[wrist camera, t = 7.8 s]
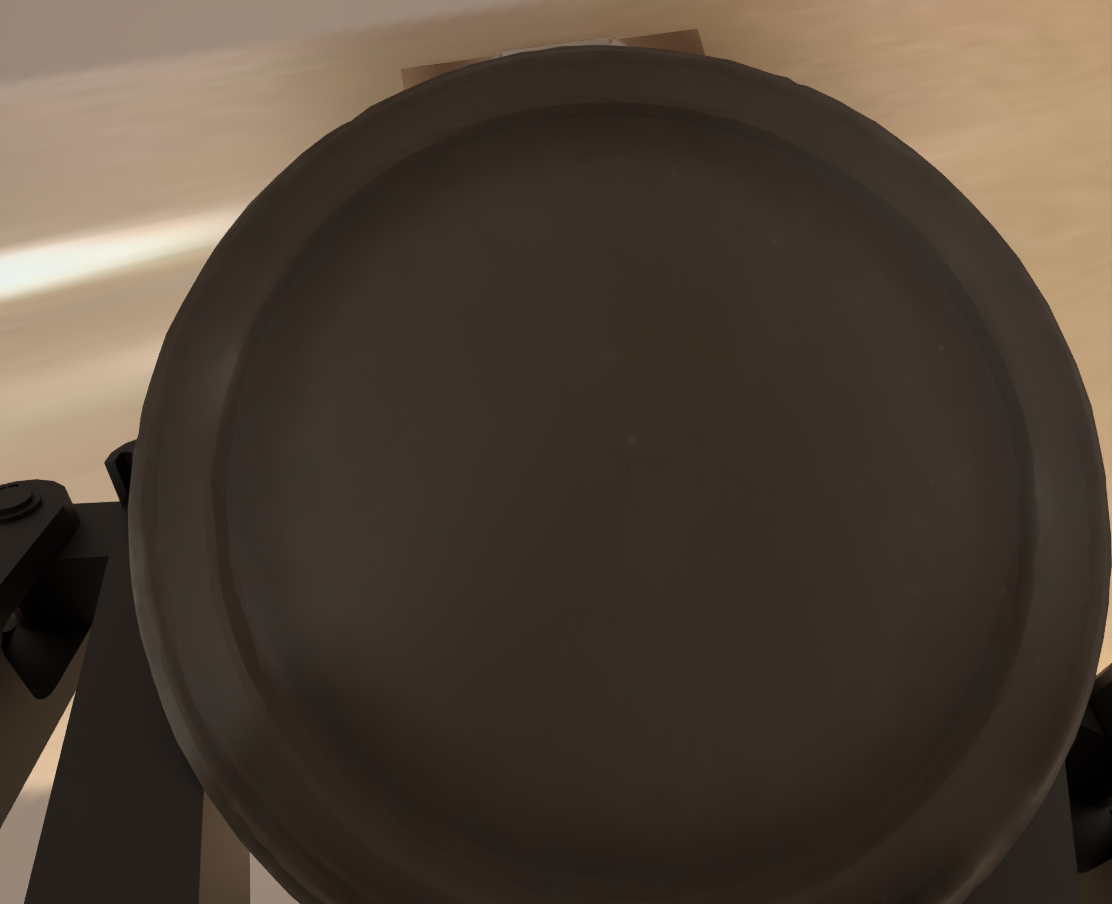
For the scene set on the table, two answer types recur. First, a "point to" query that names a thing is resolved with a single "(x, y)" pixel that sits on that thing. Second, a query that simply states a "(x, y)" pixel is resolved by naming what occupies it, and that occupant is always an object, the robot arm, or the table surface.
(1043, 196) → the table surface
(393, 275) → the coffee can
